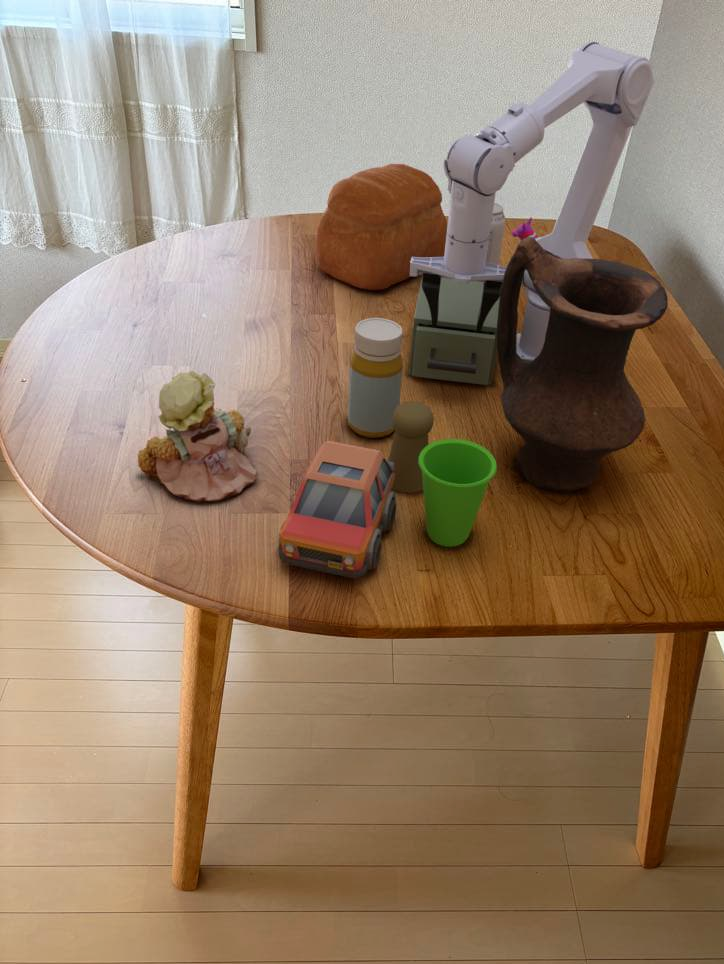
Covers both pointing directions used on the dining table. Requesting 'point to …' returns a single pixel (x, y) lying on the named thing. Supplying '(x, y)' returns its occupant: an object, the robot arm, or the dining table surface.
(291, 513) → the toy car
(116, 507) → the dining table surface
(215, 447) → the figurine
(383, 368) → the bottle
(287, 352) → the dining table surface
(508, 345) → the jug
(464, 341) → the drawer
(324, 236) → the bread
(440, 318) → the cabinet
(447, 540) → the cup
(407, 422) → the pepper shaker
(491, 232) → the energy drink can
